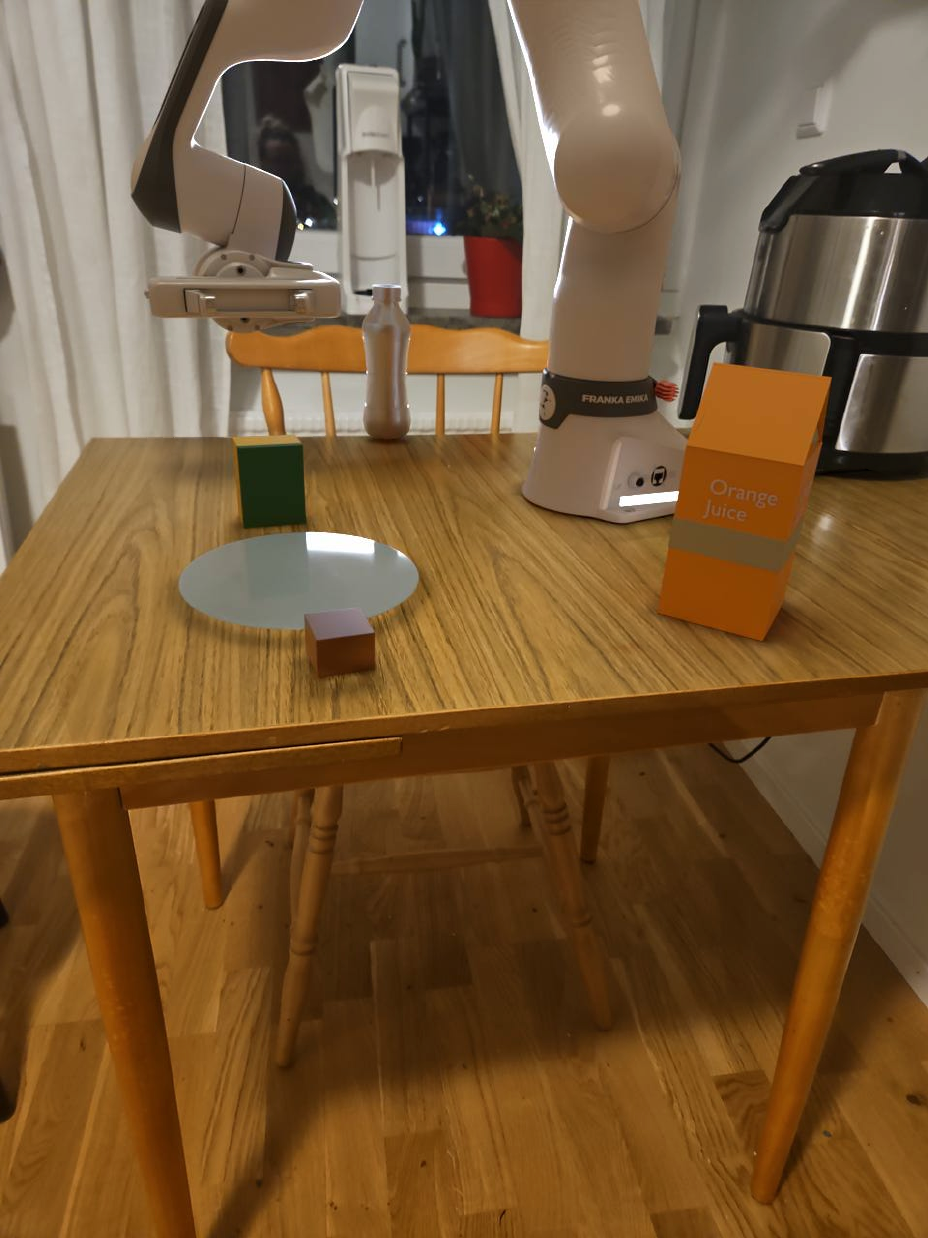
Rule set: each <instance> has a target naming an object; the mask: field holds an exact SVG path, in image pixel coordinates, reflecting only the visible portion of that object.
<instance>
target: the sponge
mask: <svg viewBox="0 0 928 1238" xmlns="http://www.w3.org/2000/svg"><path fill="white" fill-rule="evenodd" d="M231 440H232V452H233V463H234V477H235V488H236V489H235V490H236V499H237V501H236V502H237V511H238V517H239V520H240V522H241V525H242V528H243V529H245V530H247V529H259V528H269V527H281V526H292V525H295V526H296V525H304V524H305V525H306V524H307V511H306V489H305V487H306V486H305V467H304V465H305V464H304V445H303V443H302V442H301V440H299V438H298V437H297V435H296V434H277V435H276V434H275V435H274V434H273V435H254V436H253V435H252V436H233V437H231Z"/></svg>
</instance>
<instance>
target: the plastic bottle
mask: <svg viewBox="0 0 928 1238" xmlns="http://www.w3.org/2000/svg"><path fill="white" fill-rule="evenodd" d="M402 300H403V298H402V286H401V285H395V284H372V296H371V301H373V305H372V306H371V308H370V310H369V311H368V312H367V314H366V316H365V317H364V319H363V321H362V324H361V335H362V342H363V349H364V354H365V368H366V390H365V403H364V407H363V415H362V422H363V427H364V430H365V432H366V433H367V435H368V436H370V437H373V438H376V439H380V440H381V439H382V440H387V441H388V440H397V439H403V438H405V437H406V436H407V434H408V433H409V432H410V430H411V429H410V428H411V423H412V418H411V411H410V407H409V406H410V405H409V399H408V398H409V397H408V386H407V385H408V384H407V375H408V372H407V370H408V357H409V349H410V342H411V335H412V334H411V333H412V328H411V324H410V321H409V320H408V318H407V316H406V314H405V312H404V311H403V309H402V308H401V306H400V302H402Z"/></svg>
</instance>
